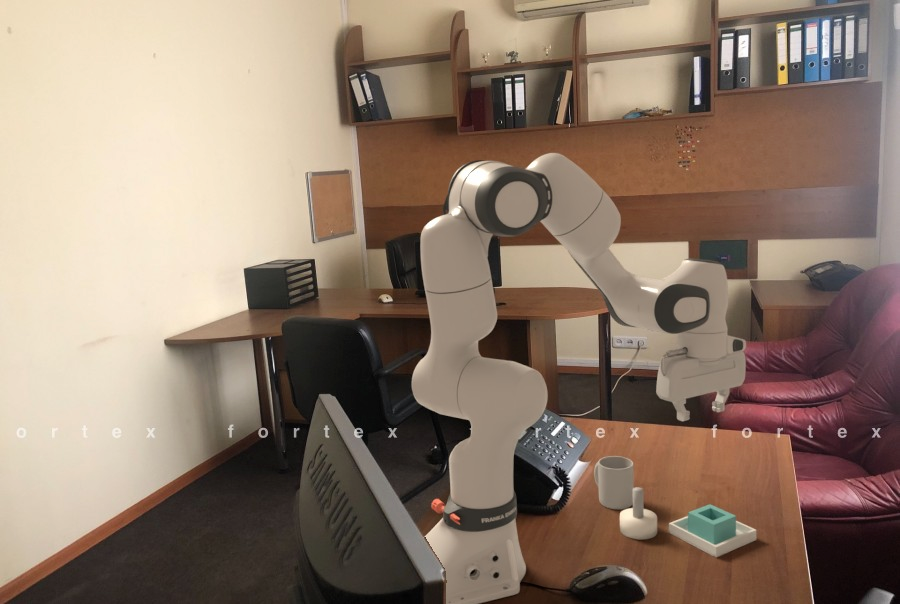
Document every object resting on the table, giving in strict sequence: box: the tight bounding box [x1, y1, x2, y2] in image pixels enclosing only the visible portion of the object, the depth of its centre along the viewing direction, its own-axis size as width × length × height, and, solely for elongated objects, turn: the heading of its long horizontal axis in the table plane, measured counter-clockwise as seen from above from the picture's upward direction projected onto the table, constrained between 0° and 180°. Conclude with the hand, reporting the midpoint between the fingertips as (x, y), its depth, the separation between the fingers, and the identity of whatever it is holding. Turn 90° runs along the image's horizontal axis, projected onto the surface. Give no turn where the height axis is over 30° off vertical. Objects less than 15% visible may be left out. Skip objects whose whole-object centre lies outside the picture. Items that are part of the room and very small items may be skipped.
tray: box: [668, 515, 758, 558], centre depth 131 cm, size 11×11×2 cm
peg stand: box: [619, 487, 658, 541], centre depth 134 cm, size 7×7×8 cm
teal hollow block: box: [687, 503, 737, 545], centre depth 131 cm, size 6×8×4 cm
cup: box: [593, 455, 635, 510], centre depth 147 cm, size 7×10×9 cm
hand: (700, 415), depth 132 cm, fingers open, 8 cm apart
